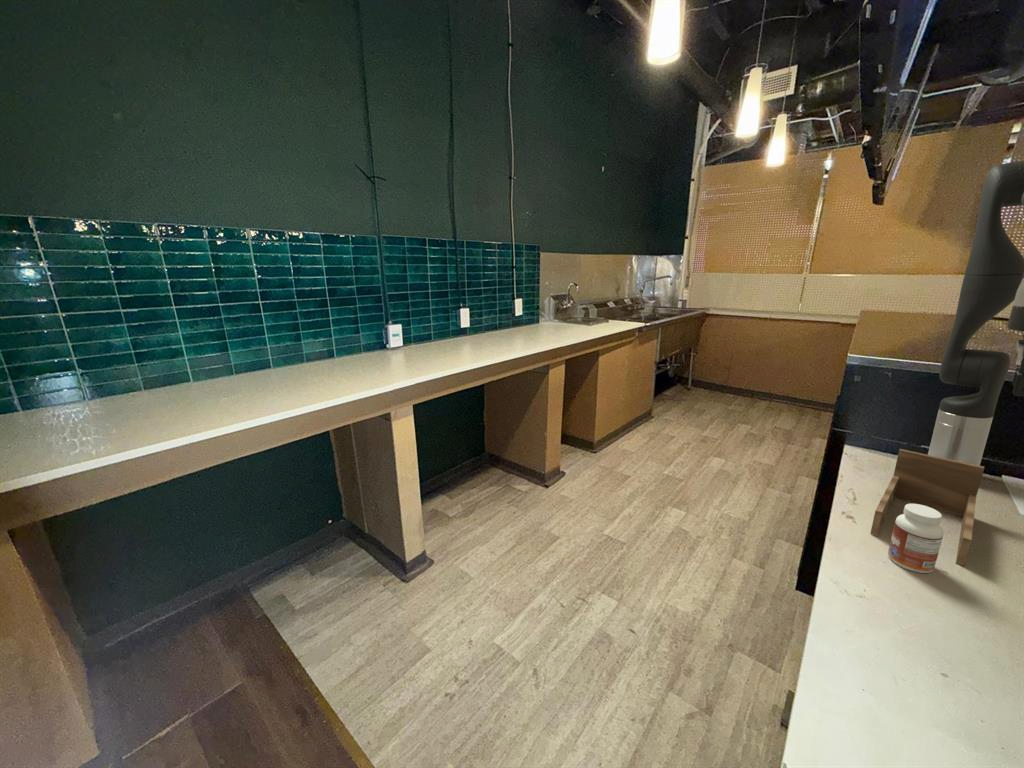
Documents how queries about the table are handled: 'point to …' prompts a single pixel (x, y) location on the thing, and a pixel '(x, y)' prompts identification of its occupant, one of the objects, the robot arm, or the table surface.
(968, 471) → the open-sided box
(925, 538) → the pill bottle
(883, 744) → the table surface
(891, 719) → the table surface
